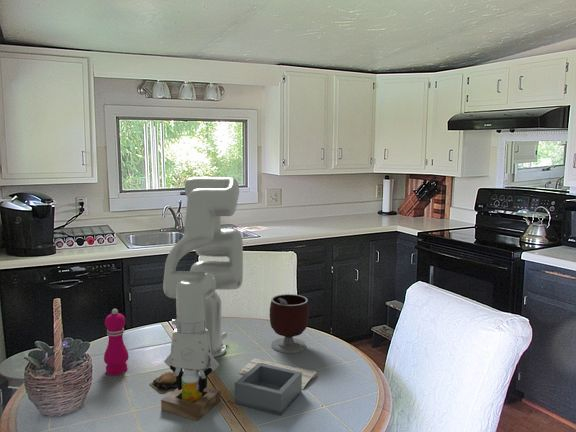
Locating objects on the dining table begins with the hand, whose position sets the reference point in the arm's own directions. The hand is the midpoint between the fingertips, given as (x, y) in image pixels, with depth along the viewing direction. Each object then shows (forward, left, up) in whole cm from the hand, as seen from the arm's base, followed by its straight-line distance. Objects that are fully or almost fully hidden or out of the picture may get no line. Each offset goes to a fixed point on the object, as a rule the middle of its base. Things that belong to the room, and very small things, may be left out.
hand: (191, 388), depth 134 cm
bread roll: (-7, -13, -5) cm, 16 cm away
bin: (-13, +17, -5) cm, 22 cm away
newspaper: (-28, +13, -6) cm, 31 cm away
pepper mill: (-7, -33, -5) cm, 34 cm away
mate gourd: (-48, +7, -5) cm, 48 cm away
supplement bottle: (0, 0, -4) cm, 4 cm away
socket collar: (0, 0, -5) cm, 5 cm away
